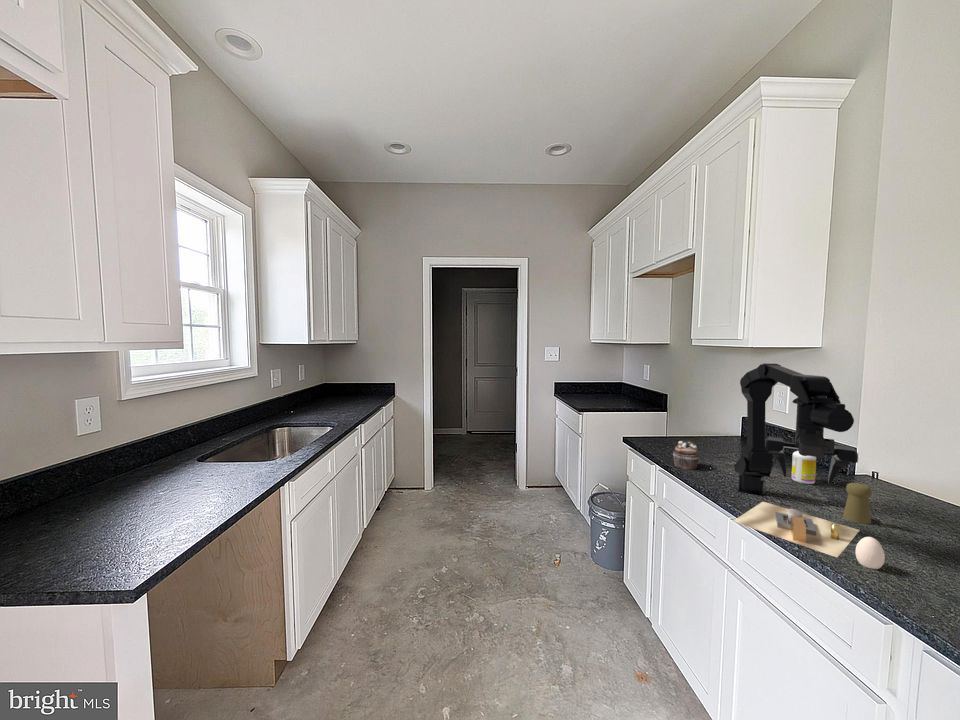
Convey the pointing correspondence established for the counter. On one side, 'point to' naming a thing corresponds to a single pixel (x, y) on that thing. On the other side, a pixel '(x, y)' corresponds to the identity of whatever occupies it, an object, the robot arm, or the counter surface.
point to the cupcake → (686, 455)
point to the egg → (870, 553)
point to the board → (766, 522)
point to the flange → (796, 526)
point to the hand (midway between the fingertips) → (806, 480)
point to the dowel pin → (834, 531)
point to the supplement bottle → (803, 468)
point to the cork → (858, 503)
